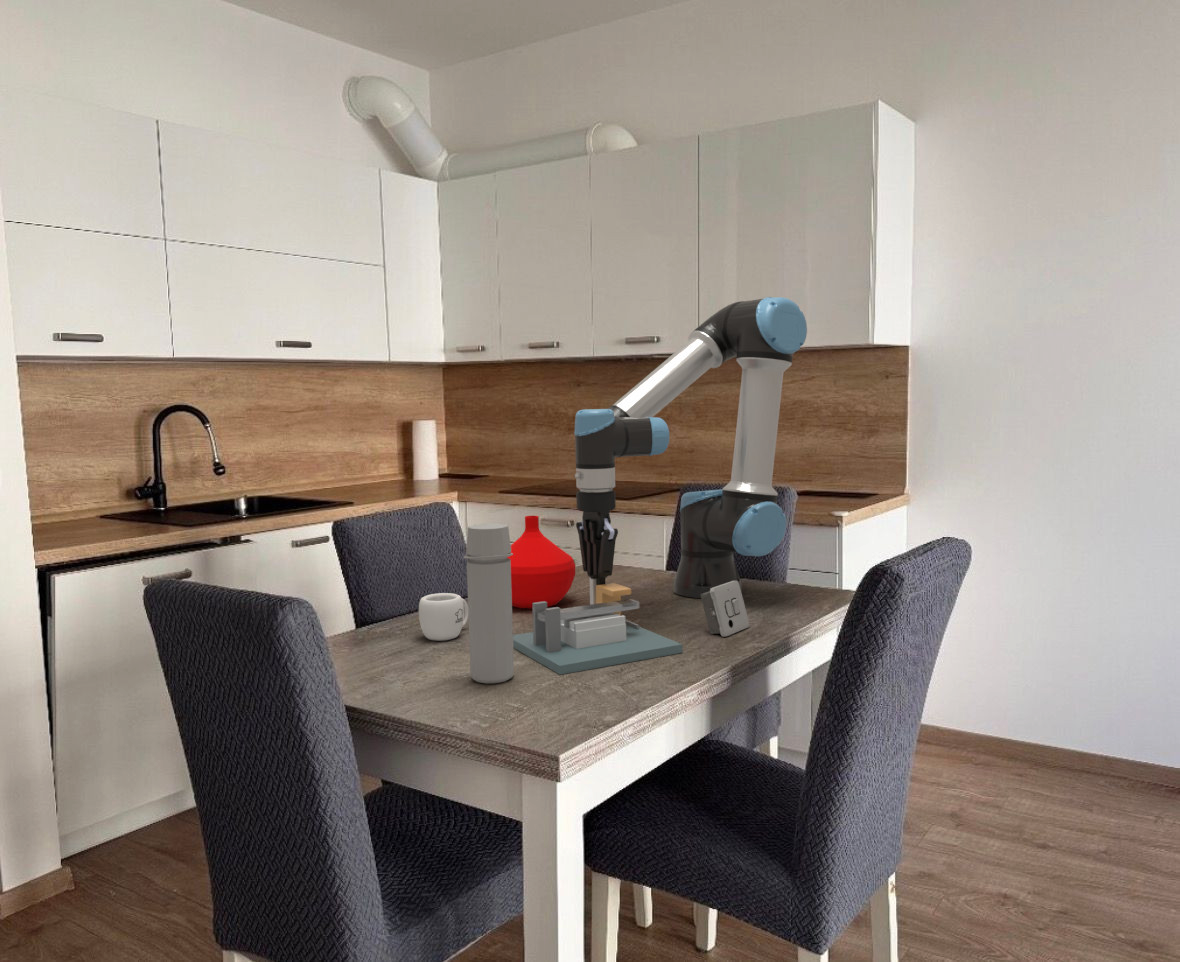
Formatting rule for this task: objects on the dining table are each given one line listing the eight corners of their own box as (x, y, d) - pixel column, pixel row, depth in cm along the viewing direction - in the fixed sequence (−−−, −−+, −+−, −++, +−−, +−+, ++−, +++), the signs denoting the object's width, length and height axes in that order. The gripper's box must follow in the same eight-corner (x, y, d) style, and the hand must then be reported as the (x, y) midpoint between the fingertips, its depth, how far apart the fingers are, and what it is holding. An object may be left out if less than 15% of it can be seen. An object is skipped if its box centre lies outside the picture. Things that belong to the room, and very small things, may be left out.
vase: (585, 609, 202) (583, 519, 200) (498, 616, 198) (495, 524, 196) (565, 591, 220) (563, 509, 218) (486, 597, 215) (483, 513, 214)
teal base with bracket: (619, 626, 188) (619, 580, 187) (682, 652, 169) (681, 602, 168) (506, 644, 177) (505, 595, 176) (559, 674, 157) (558, 620, 156)
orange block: (614, 621, 185) (614, 582, 185) (631, 628, 180) (631, 588, 179) (596, 624, 184) (595, 585, 183) (613, 631, 178) (612, 591, 177)
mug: (444, 645, 177) (443, 603, 176) (410, 640, 181) (408, 599, 180) (485, 630, 187) (484, 591, 186) (451, 625, 191) (450, 587, 190)
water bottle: (521, 682, 154) (516, 527, 151) (472, 687, 152) (466, 531, 149) (509, 666, 163) (504, 520, 160) (463, 671, 160) (457, 523, 158)
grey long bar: (630, 605, 178) (630, 598, 177) (639, 608, 175) (639, 601, 175) (537, 619, 169) (537, 612, 169) (545, 622, 166) (544, 615, 166)
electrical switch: (725, 638, 177) (720, 588, 177) (701, 637, 181) (697, 588, 180) (750, 628, 185) (746, 580, 184) (727, 626, 188) (723, 579, 188)
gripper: (563, 488, 188) (565, 606, 191) (594, 494, 177) (596, 619, 179) (597, 485, 192) (599, 601, 194) (629, 491, 180) (631, 614, 183)
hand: (598, 610), depth 187 cm, fingers closed
